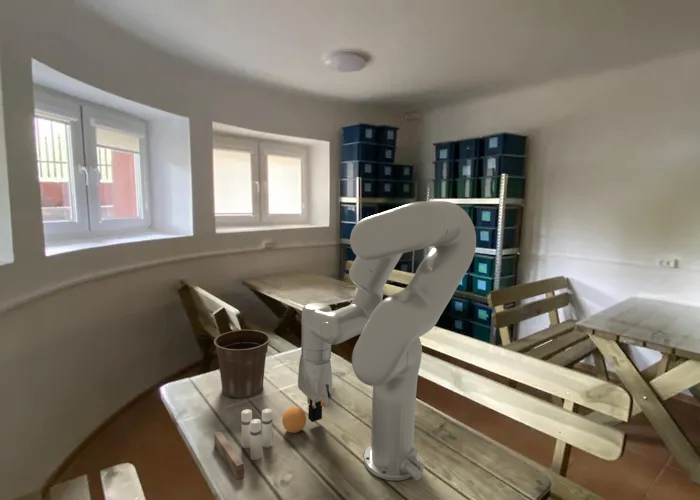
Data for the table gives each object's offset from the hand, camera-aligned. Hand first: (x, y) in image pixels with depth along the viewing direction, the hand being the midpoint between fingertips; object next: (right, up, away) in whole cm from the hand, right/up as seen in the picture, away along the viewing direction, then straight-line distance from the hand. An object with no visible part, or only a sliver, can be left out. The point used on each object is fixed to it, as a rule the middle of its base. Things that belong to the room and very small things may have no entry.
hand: (315, 418), depth 103 cm
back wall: (-18, -3, -14) cm, 23 cm away
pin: (-15, -3, -9) cm, 18 cm away
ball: (-5, +1, -3) cm, 6 cm away
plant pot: (-24, +1, +18) cm, 30 cm away
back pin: (-12, -3, -13) cm, 18 cm away
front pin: (-11, -3, -8) cm, 14 cm away
